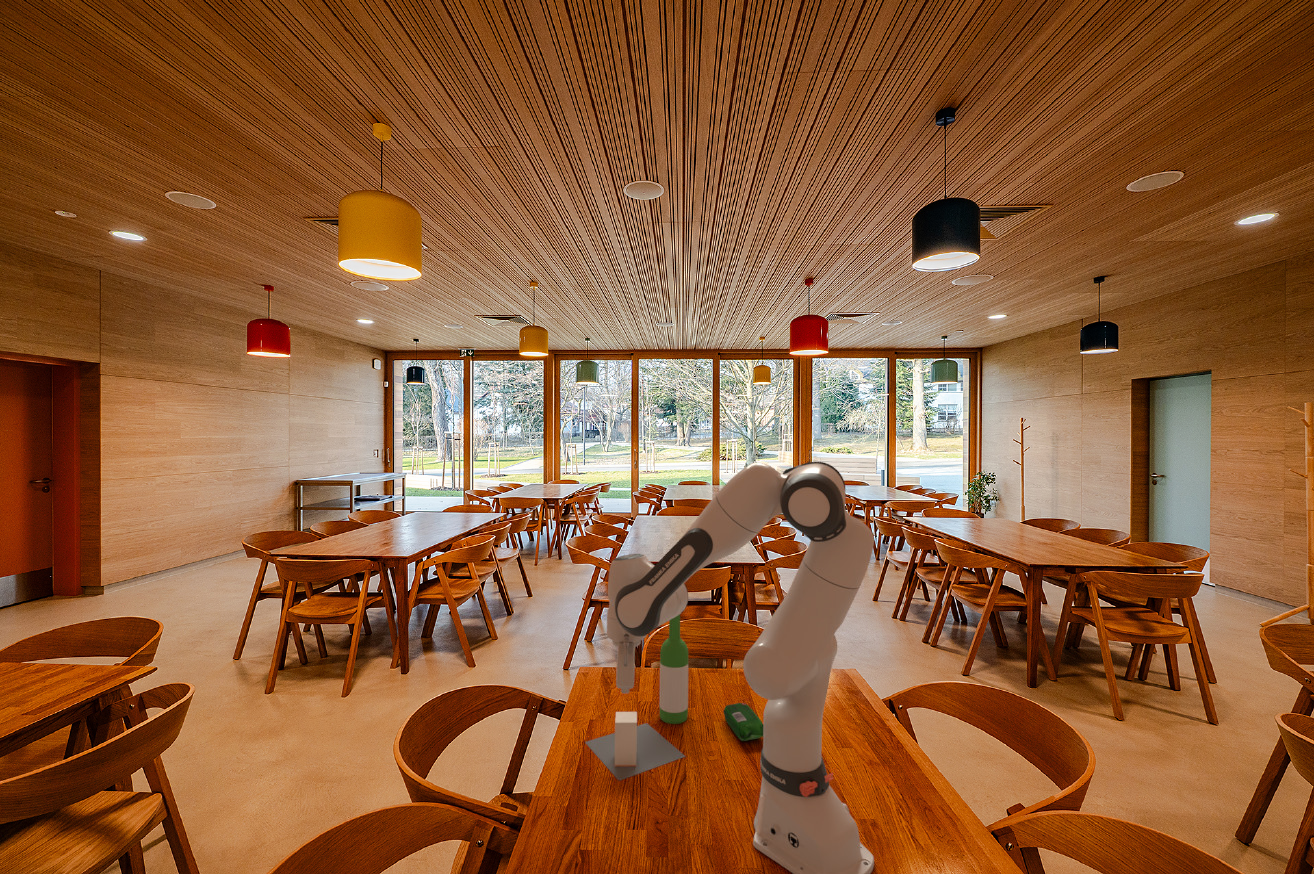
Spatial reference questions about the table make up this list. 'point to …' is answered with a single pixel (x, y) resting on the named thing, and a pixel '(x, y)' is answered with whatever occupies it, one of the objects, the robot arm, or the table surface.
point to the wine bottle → (674, 676)
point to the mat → (648, 754)
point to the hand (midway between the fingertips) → (625, 690)
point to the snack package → (743, 721)
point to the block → (625, 739)
